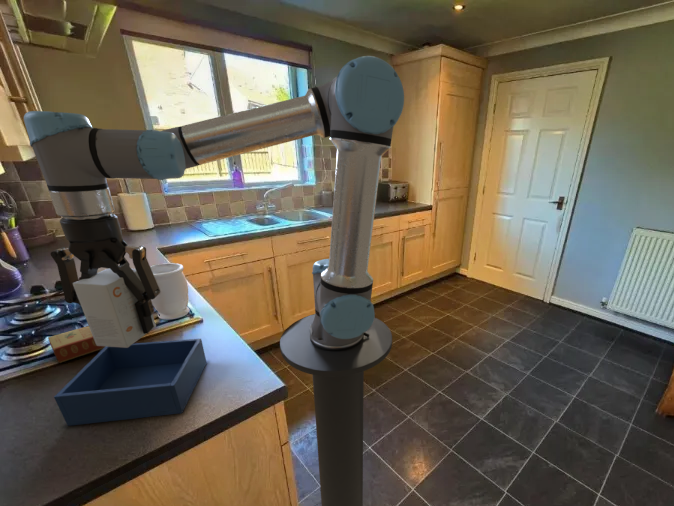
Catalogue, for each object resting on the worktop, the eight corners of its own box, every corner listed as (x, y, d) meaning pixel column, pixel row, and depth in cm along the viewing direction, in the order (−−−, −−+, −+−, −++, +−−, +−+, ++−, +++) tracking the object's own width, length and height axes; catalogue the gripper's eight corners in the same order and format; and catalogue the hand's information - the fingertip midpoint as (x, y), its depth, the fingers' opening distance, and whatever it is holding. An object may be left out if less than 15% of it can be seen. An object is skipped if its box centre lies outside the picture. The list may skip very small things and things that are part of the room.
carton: (53, 350, 82) (46, 336, 80) (129, 327, 94) (125, 313, 92) (59, 364, 77) (52, 349, 76) (138, 337, 89) (134, 323, 87)
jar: (145, 318, 98) (131, 271, 92) (175, 304, 107) (164, 260, 101) (172, 324, 95) (160, 277, 89) (201, 309, 104) (191, 265, 98)
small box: (128, 324, 69) (109, 266, 64) (157, 326, 69) (141, 268, 63) (94, 346, 61) (70, 282, 56) (127, 348, 61) (106, 284, 56)
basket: (206, 362, 80) (201, 338, 77) (182, 413, 65) (174, 385, 62) (115, 370, 76) (106, 345, 73) (67, 426, 61) (53, 397, 58)
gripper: (163, 210, 61) (188, 319, 70) (35, 211, 57) (79, 325, 66) (144, 219, 54) (175, 337, 63) (-3, 220, 50) (53, 346, 59)
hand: (126, 331), depth 65 cm, fingers closed on small box, 7 cm apart
